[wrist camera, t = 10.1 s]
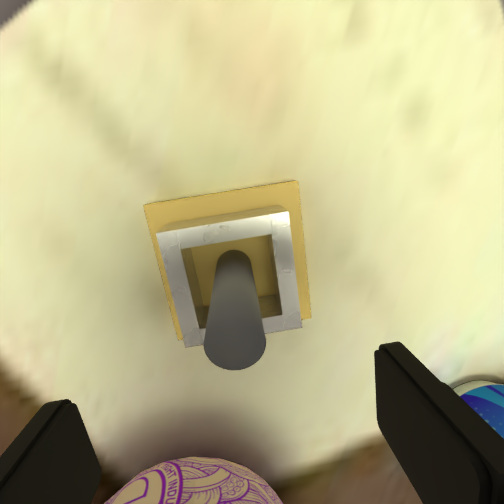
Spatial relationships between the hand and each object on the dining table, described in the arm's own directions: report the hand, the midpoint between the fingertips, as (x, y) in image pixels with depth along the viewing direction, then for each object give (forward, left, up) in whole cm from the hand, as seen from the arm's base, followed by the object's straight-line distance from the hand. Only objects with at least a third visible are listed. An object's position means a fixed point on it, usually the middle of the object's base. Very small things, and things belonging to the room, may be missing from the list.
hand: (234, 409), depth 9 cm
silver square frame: (+1, 0, -11) cm, 11 cm away
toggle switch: (+1, 0, -12) cm, 12 cm away
